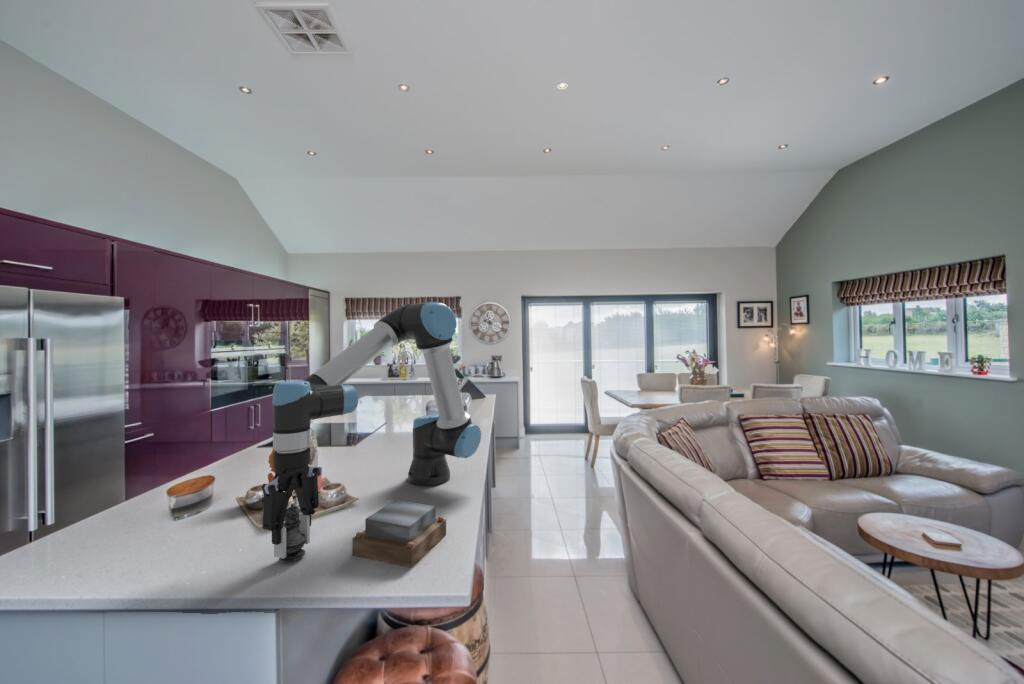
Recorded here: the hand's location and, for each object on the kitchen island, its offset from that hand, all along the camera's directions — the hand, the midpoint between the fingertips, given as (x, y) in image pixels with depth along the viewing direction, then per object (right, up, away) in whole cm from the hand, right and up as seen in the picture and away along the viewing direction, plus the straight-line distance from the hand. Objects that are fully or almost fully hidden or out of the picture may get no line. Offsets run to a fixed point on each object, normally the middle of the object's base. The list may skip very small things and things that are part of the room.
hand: (292, 549), depth 92 cm
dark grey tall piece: (0, -2, 0) cm, 2 cm away
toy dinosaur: (-23, -2, +37) cm, 43 cm away
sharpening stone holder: (+23, -2, +7) cm, 24 cm away
